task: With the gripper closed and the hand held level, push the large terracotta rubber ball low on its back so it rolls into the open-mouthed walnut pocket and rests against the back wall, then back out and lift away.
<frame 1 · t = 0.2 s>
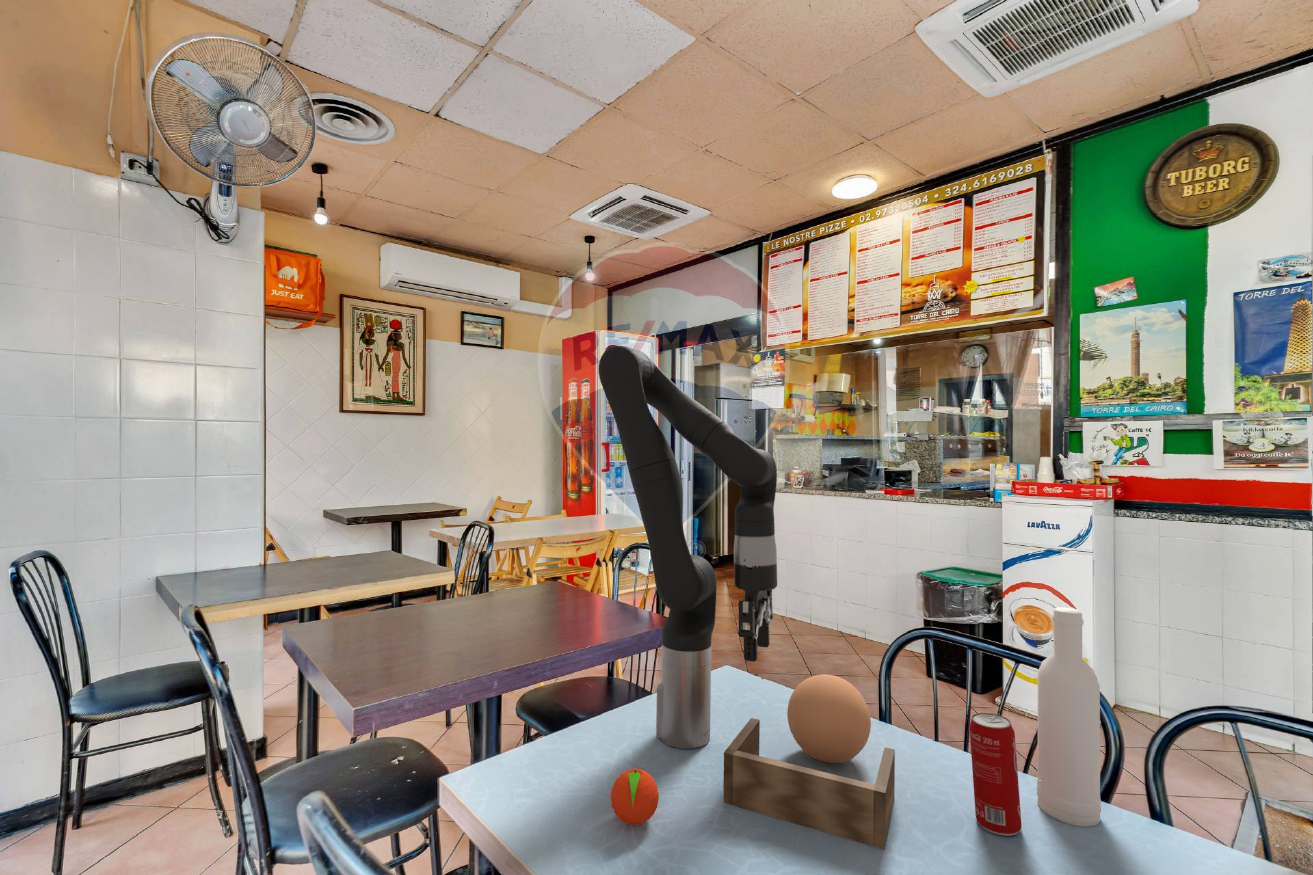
hand: (757, 653, 106), 18 cm above the table, tool pointing down, fingers open, 8 cm apart
clementine: (634, 824, 85), on the table
beverage can: (994, 826, 86), on the table
pocket: (810, 797, 92), on the table
bottle: (1068, 812, 90), on the table
ball: (828, 717, 105), point 7 cm above the table
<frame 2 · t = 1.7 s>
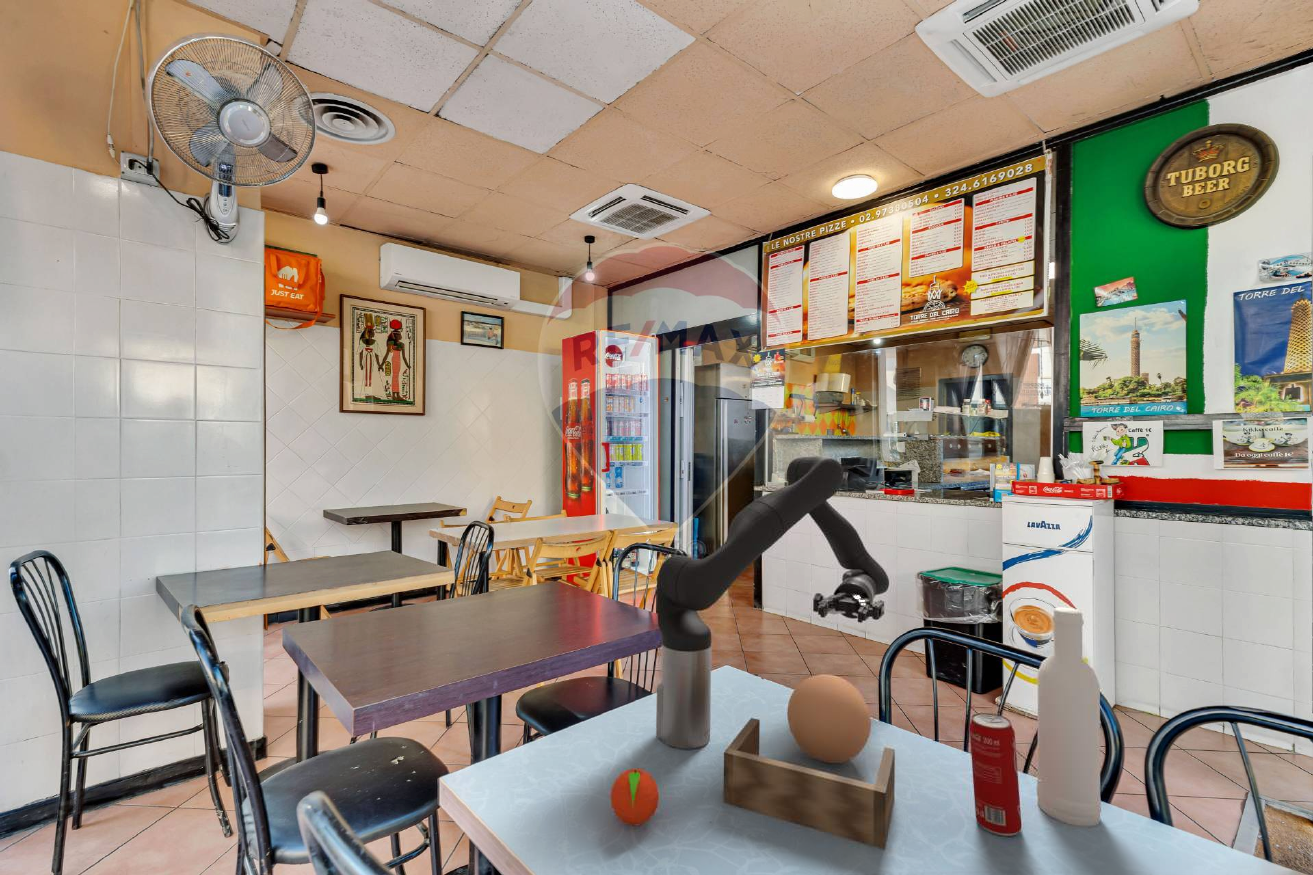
hand: (840, 614, 116), 22 cm above the table, tool horizontal, fingers open, 6 cm apart
nothing on the table moved.
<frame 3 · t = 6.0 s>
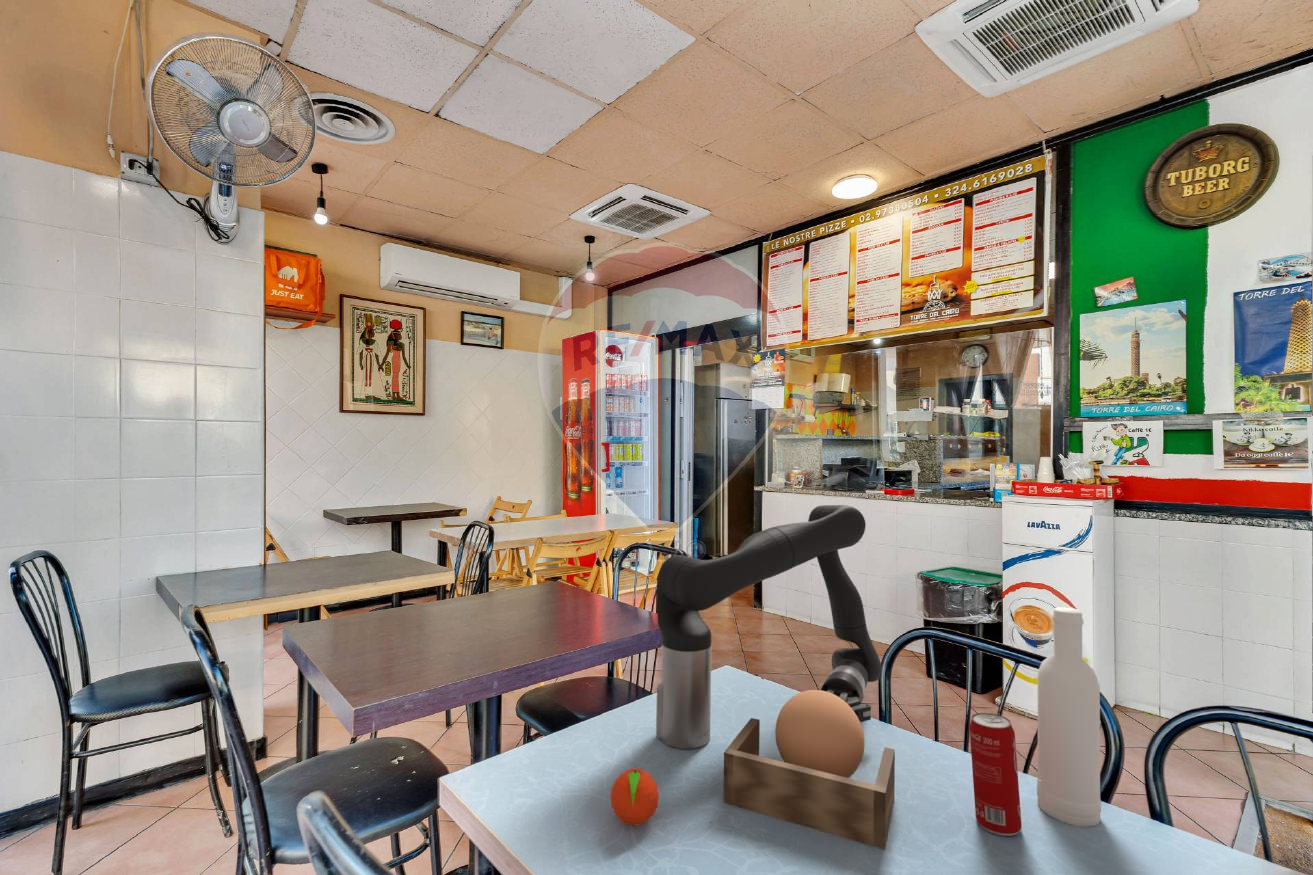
hand: (827, 724, 104), 6 cm above the table, tool horizontal, fingers closed
ball: (819, 736, 98), point 7 cm above the table, tilted 65°
everything else where it was.
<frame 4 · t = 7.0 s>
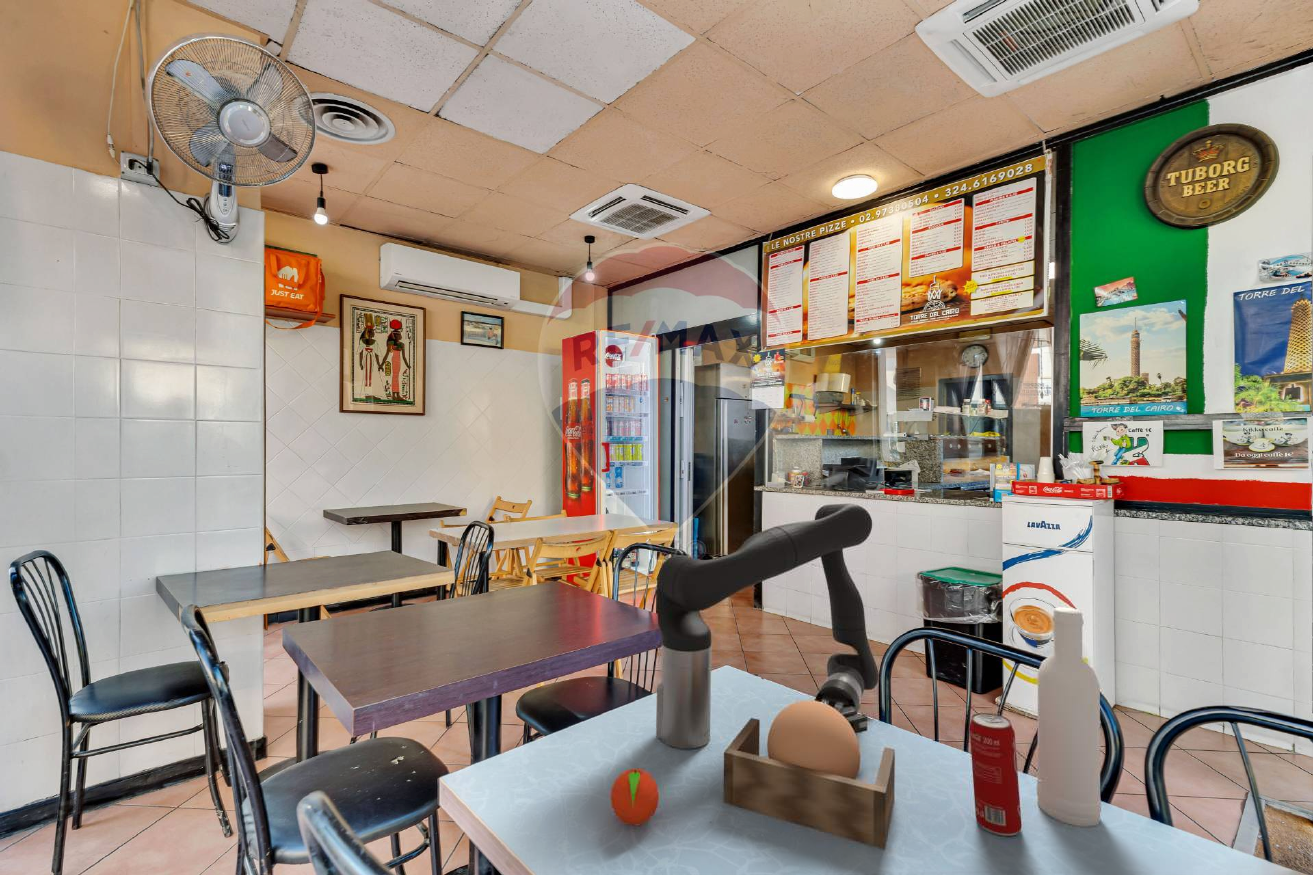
hand: (821, 736, 100), 6 cm above the table, tool horizontal, fingers closed
ball: (812, 749, 93), point 7 cm above the table, tilted 105°, touching gripper, pocket
everything else where it was.
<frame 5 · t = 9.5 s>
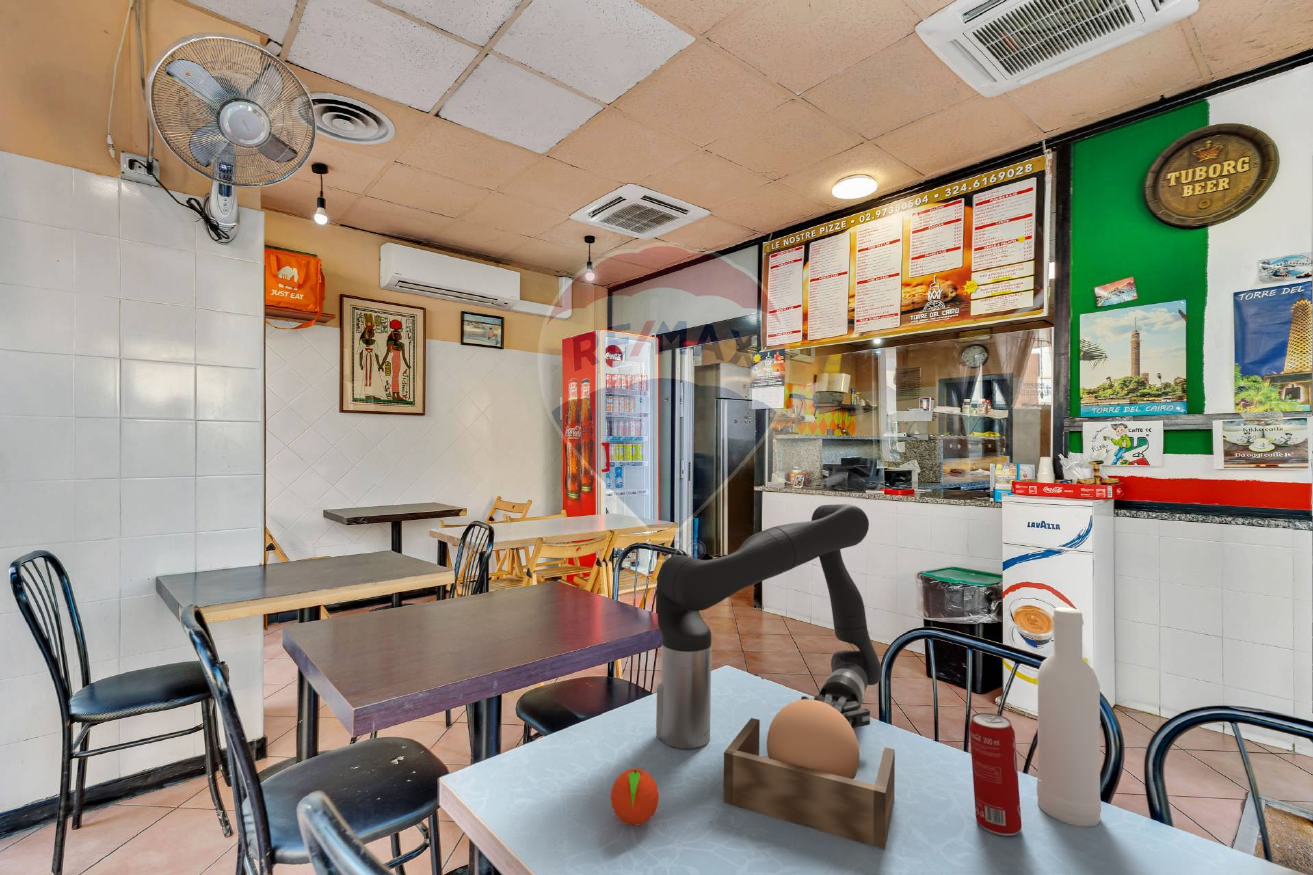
hand: (825, 729, 102), 6 cm above the table, tool horizontal, fingers closed
ball: (812, 748, 94), point 7 cm above the table, tilted 102°
everything else where it was.
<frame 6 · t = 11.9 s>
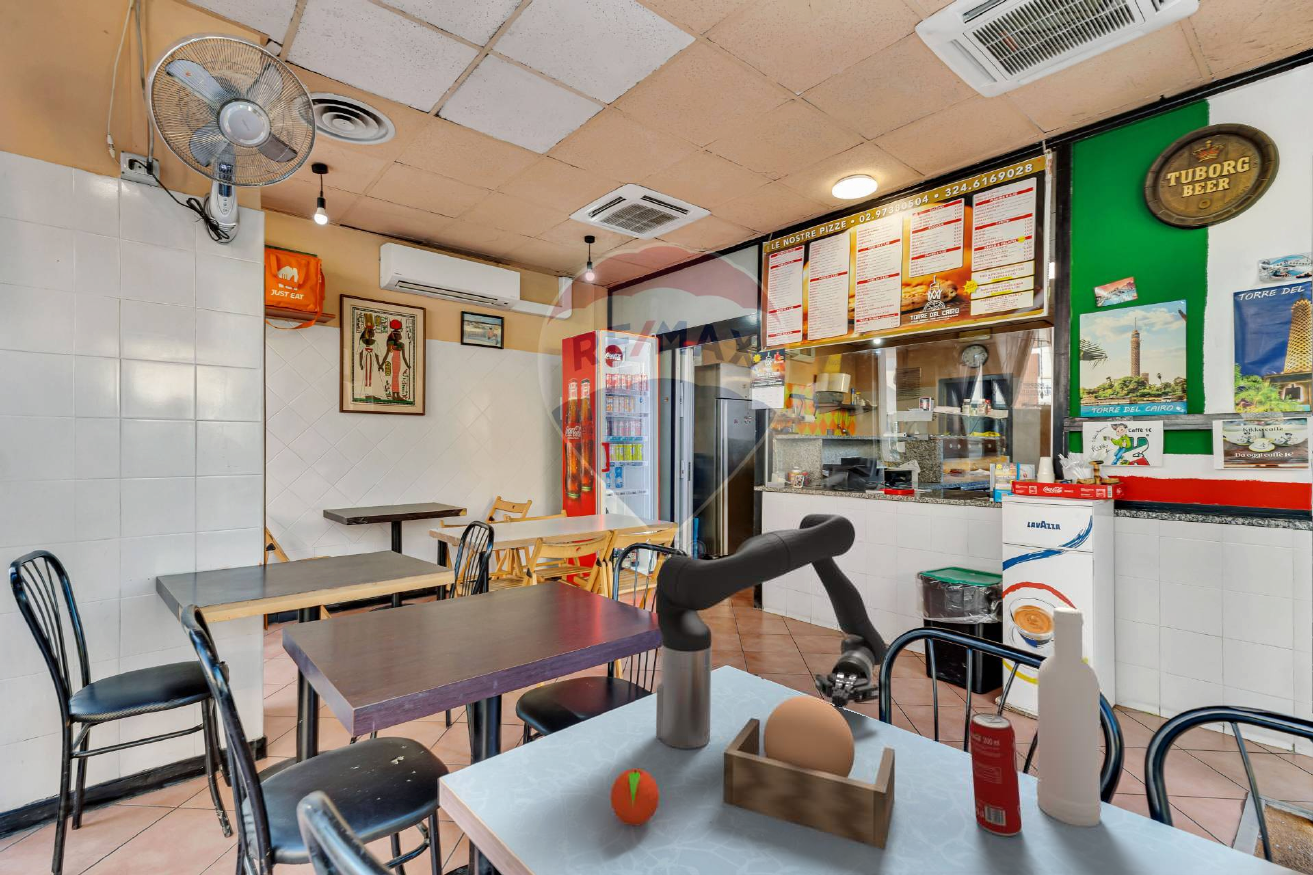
hand: (838, 702, 114), 6 cm above the table, tool horizontal, fingers closed
ball: (808, 744, 95), point 7 cm above the table, tilted 94°
everything else where it was.
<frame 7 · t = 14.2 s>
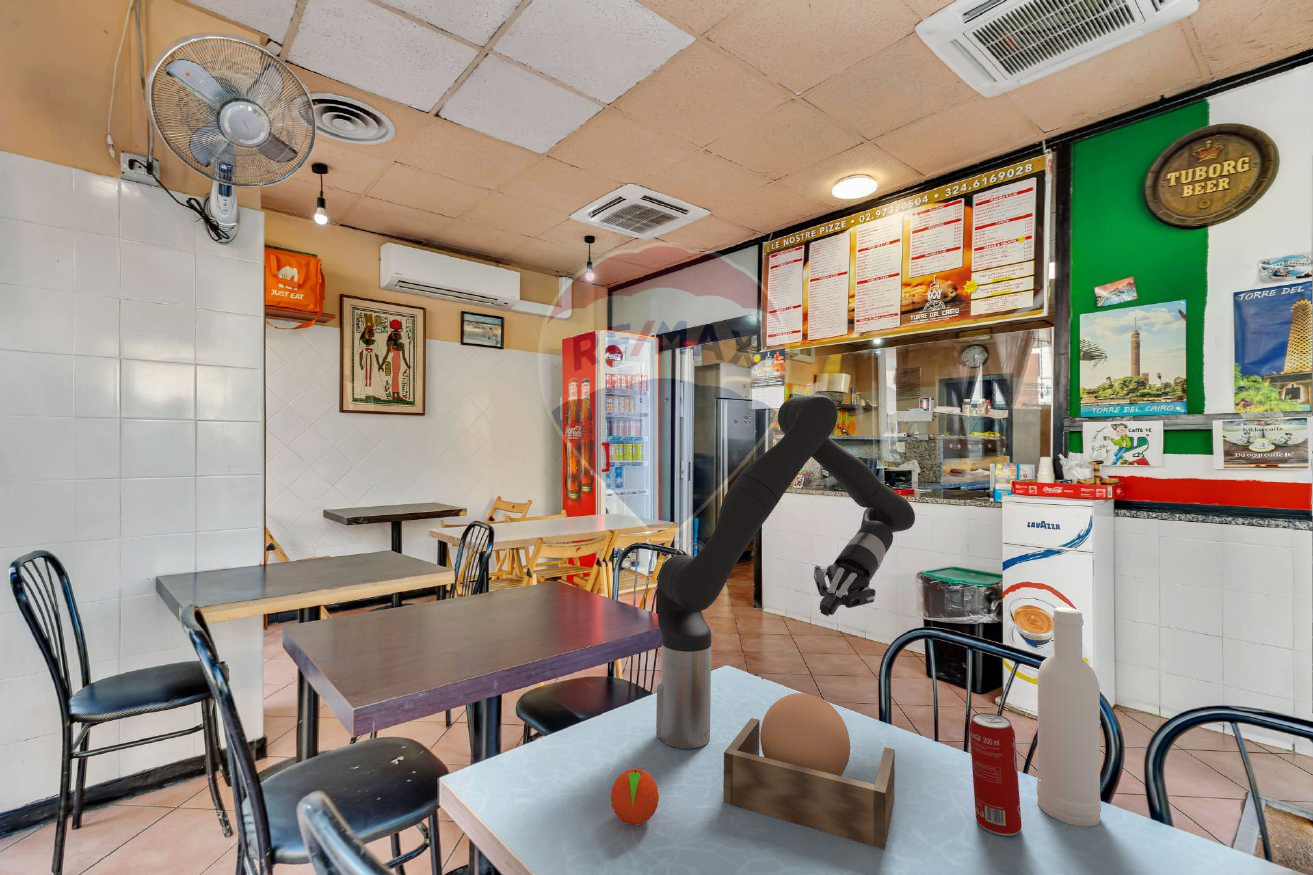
hand: (824, 611, 112), 24 cm above the table, tool tilted 65°, fingers closed
ball: (804, 740, 96), point 7 cm above the table, tilted 85°
everything else where it was.
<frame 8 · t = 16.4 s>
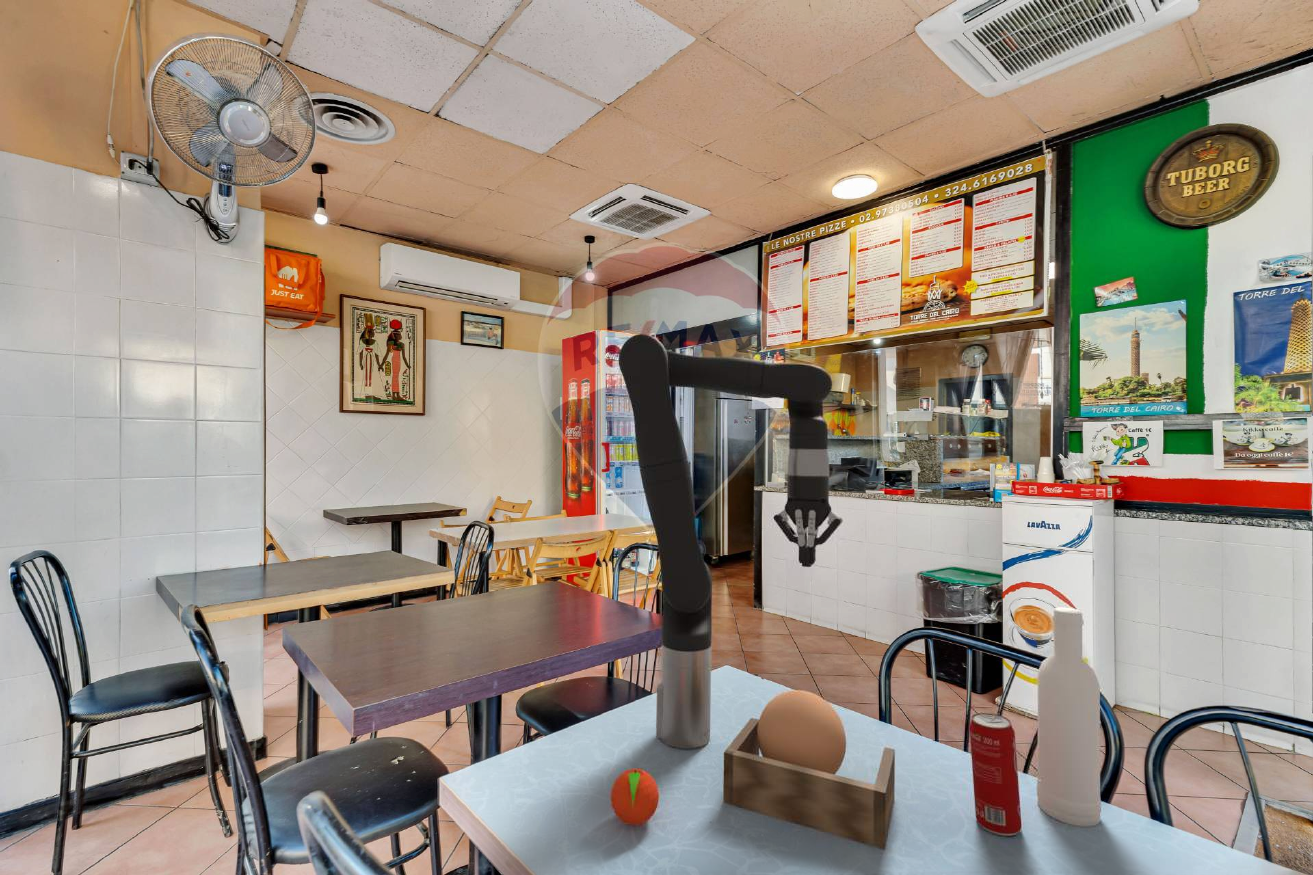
hand: (807, 566, 112), 32 cm above the table, tool pointing down, fingers closed
ball: (801, 736, 97), point 7 cm above the table, tilted 78°
everything else where it was.
at the end: ball inside the target area (4.4 cm from its centre), point 7.0 cm above the table; ball moved 9.8 cm from its start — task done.
